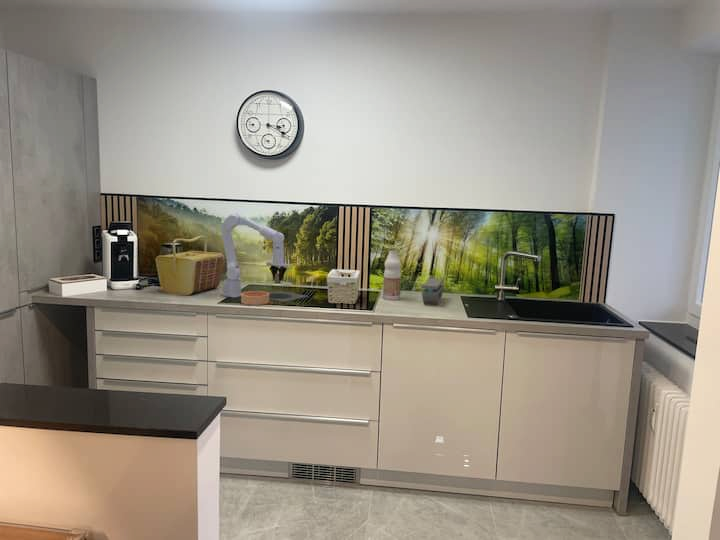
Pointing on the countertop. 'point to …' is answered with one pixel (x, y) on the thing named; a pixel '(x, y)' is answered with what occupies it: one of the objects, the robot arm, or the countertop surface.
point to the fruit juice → (392, 276)
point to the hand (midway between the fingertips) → (278, 280)
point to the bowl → (255, 298)
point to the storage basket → (343, 286)
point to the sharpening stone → (432, 291)
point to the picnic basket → (189, 270)
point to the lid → (277, 282)
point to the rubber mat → (284, 296)
